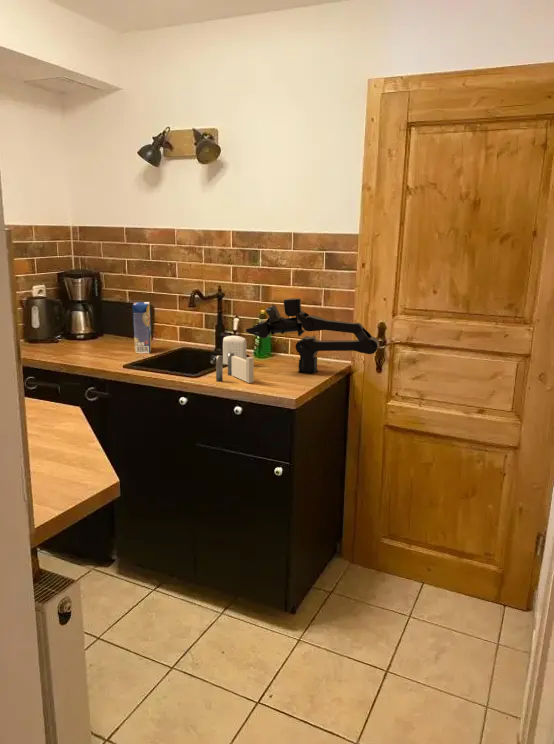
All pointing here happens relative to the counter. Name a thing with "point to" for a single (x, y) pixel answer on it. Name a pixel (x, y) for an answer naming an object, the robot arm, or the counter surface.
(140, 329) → the beverage box
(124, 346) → the counter surface
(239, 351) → the photo printer
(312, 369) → the robot arm
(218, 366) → the post
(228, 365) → the hinge post
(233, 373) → the off-white flat slab
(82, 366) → the counter surface
